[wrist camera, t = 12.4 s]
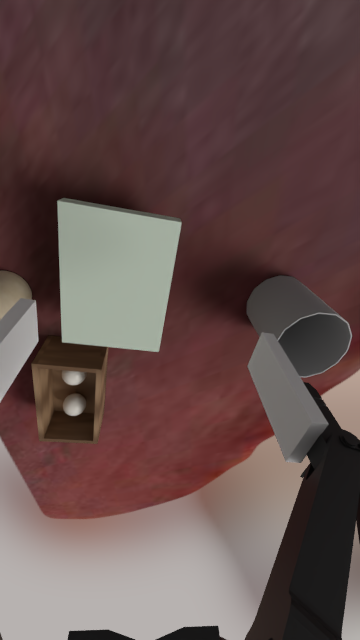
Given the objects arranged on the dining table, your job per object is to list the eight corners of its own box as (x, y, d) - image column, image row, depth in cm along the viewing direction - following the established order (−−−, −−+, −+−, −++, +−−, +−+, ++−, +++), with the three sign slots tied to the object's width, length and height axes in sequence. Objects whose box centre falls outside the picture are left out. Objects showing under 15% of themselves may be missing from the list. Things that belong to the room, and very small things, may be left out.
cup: (239, 327, 39) (262, 374, 31) (255, 272, 35) (288, 309, 27) (294, 332, 41) (332, 379, 32) (316, 279, 37) (366, 317, 28)
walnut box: (48, 335, 38) (31, 363, 33) (108, 341, 39) (101, 369, 34) (52, 408, 44) (39, 440, 39) (104, 411, 46) (97, 443, 41)
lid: (63, 197, 26) (57, 200, 24) (180, 218, 28) (181, 222, 26) (66, 332, 33) (61, 342, 31) (158, 342, 35) (158, 351, 33)
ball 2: (66, 387, 41) (59, 404, 39) (88, 389, 42) (83, 405, 39) (66, 403, 43) (60, 420, 40) (87, 404, 43) (83, 421, 41)
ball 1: (65, 355, 38) (58, 371, 36) (89, 358, 39) (84, 373, 36) (65, 373, 40) (58, 389, 37) (88, 375, 40) (83, 391, 38)
